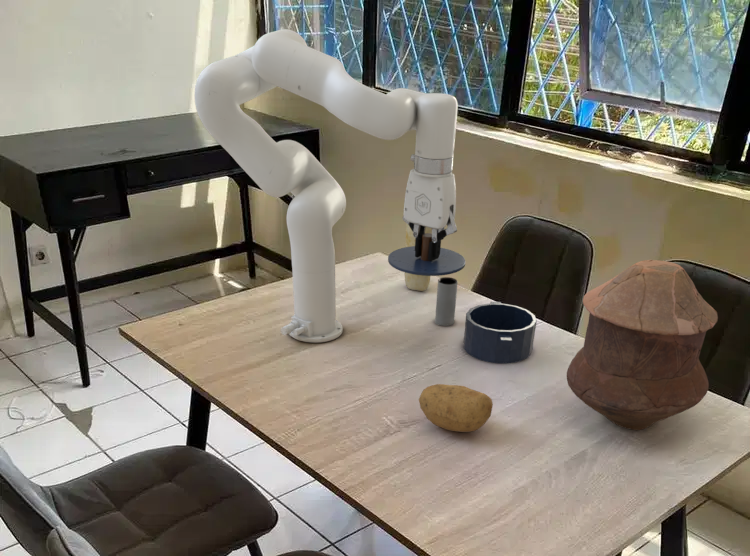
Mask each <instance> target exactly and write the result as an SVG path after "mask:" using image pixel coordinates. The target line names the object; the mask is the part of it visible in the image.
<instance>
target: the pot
mask: <svg viewBox="0 0 750 556" xmlns="http://www.w3.org/2000/svg"><path fill="white" fill-rule="evenodd" d="M536 328H537V318H536V315H535V314H534V313H532V312H531V311H530V310H528V309H527V308H524V307H521V306H519V305H513V304H508V303H502V301H490V302H489V303H483V304H478V305H476V306H474V307H470V308H469V310H468V311H467V312H466V313H465V321H464V330H463V331H464V332H463V349H464V351H465V352H466V354H468V355H469V356H471V357H472V358H474V359H476V360H479V361H482V362H486V363H491V364H501V365H502V364H515V363H519V362H522V361H524V360H527V359H528V358H529V357H530V356H531V354H532V351H533V347H534V341H535V336H536Z"/></svg>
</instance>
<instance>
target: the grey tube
mask: <svg viewBox="0 0 750 556" xmlns="http://www.w3.org/2000/svg"><path fill="white" fill-rule="evenodd" d="M458 283H459V282H458V280H457V279H456V278H454V277H449V276H444V277H440V278H439V279H438V280H437V287H436V288H437V290H436V302H435V303H436V305H435V316H434V318H435V319H434V322H435V324H436V325H439V326H442V327H449V326H452V325H454V323H455V317H456V316H455V315H456V305H457V293H458Z"/></svg>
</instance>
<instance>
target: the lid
mask: <svg viewBox="0 0 750 556" xmlns="http://www.w3.org/2000/svg"><path fill="white" fill-rule="evenodd" d="M431 241H432V234H431V233H424V234H422V246H421V256H420V257H415V246H411V247H405V246H404V247H401V248H398V249H395V250H393V251H391V252H390V253H389V254H388V257H387V262H388V264H389V265H390V266H391V267H392V268H393V269H395V270H397V271H400V272H402V273H404V274H405V273H409V274H415V275H422V276H430V277H438V276H439V277H441V276H447V275H453V274H455V273H458V272H460V271H462V270H463V269H464V268H465V267H466V258H465V257H464V256H463V255H462V254H460V253H459V252H457V251H455V250H452V249H449V248H445V247H441V248H440V255H439V258H438V259H435V260H433V261H429V260H428V252H429V243H430V242H431Z"/></svg>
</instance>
